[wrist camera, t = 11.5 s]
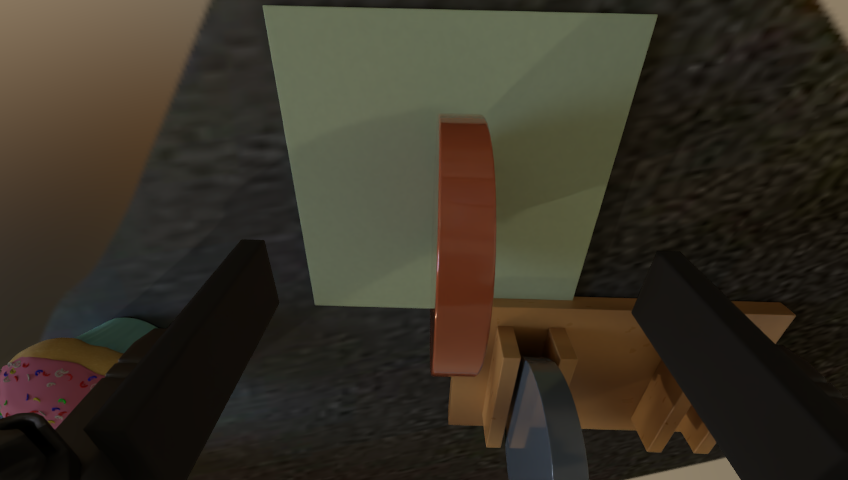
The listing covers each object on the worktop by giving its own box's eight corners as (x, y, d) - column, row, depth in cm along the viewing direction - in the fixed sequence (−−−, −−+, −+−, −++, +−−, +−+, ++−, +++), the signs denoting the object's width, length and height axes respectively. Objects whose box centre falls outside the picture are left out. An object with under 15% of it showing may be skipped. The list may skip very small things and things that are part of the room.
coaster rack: (458, 293, 23) (462, 337, 20) (780, 302, 23) (835, 347, 20) (448, 410, 29) (449, 458, 26) (701, 418, 29) (733, 467, 26)
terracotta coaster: (436, 90, 17) (441, 168, 8) (472, 91, 17) (515, 170, 8) (430, 271, 22) (429, 437, 13) (457, 272, 22) (474, 438, 13)
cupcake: (171, 394, 29) (29, 602, 19) (54, 341, 26) (-189, 553, 16) (222, 339, 26) (84, 555, 15) (95, 270, 23) (-180, 480, 13)
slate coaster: (519, 320, 23) (571, 507, 14) (545, 321, 23) (613, 508, 14) (498, 418, 28) (527, 597, 19) (519, 418, 28) (558, 598, 19)
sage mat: (265, 5, 15) (261, 5, 15) (653, 14, 15) (658, 14, 15) (316, 301, 24) (314, 305, 23) (567, 308, 24) (569, 312, 23)
